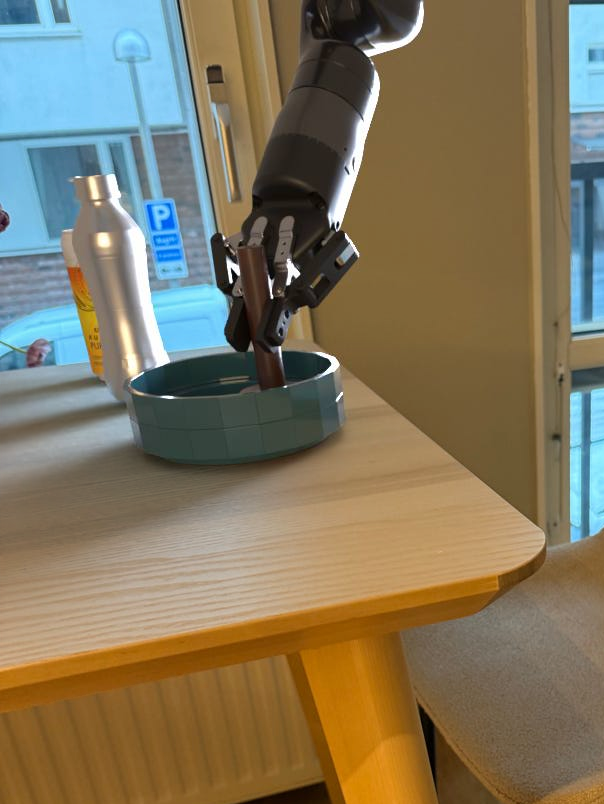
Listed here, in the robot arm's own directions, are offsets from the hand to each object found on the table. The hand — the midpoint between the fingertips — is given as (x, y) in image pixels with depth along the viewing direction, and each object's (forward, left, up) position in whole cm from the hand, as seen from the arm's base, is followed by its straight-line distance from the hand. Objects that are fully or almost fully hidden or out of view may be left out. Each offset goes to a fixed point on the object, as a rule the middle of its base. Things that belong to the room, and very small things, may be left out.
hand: (250, 346), depth 73 cm
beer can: (-23, +27, -8) cm, 37 cm away
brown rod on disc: (+1, +2, -6) cm, 6 cm away
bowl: (-2, +1, -8) cm, 8 cm away
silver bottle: (-16, +15, -8) cm, 24 cm away
